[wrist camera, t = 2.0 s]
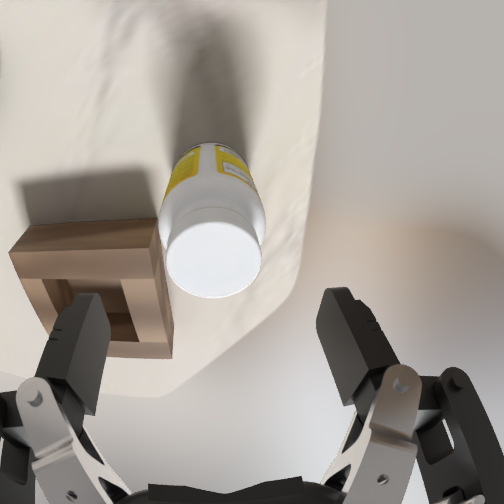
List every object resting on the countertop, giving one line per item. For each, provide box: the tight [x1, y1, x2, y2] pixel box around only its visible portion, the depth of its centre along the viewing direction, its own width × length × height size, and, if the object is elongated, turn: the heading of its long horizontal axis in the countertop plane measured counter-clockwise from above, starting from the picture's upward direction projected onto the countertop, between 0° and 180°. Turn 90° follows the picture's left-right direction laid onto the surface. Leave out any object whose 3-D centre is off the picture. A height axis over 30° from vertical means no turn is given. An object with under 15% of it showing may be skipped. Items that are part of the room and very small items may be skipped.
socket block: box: [8, 218, 174, 359], centre depth 22 cm, size 12×12×4 cm
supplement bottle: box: [158, 143, 266, 298], centre depth 16 cm, size 5×5×10 cm
